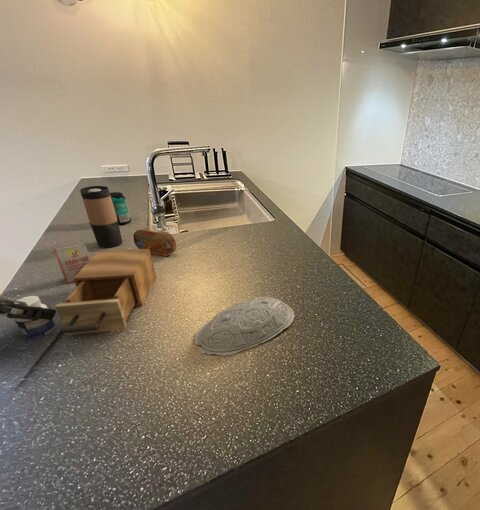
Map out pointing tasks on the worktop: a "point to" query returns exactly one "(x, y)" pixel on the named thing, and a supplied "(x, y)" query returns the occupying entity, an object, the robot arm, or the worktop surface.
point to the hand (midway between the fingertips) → (42, 311)
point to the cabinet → (122, 269)
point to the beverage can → (120, 208)
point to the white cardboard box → (72, 260)
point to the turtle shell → (244, 326)
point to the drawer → (97, 306)
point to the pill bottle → (32, 327)
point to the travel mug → (102, 216)
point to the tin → (155, 241)
